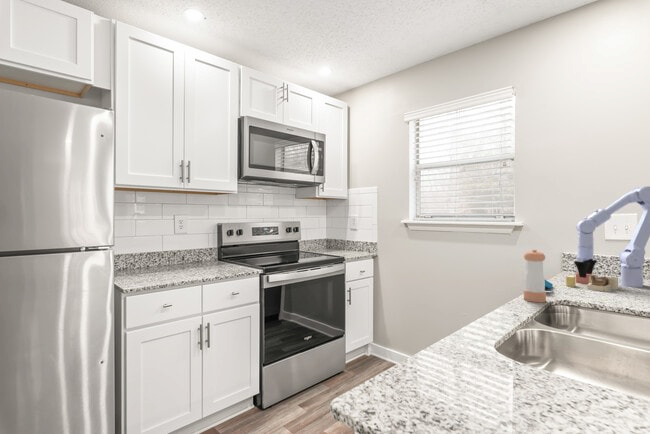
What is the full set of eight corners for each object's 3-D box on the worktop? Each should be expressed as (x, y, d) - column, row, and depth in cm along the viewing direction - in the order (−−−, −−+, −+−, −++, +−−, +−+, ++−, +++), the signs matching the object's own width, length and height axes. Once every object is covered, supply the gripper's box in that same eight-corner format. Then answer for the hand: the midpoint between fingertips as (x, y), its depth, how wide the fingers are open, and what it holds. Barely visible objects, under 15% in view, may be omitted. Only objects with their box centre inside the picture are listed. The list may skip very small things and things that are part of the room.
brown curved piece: (600, 285, 157) (600, 272, 157) (612, 287, 154) (612, 274, 154) (591, 289, 150) (591, 276, 150) (603, 290, 146) (603, 277, 146)
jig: (594, 286, 160) (594, 274, 159) (619, 289, 152) (619, 276, 152) (583, 290, 151) (583, 277, 151) (610, 294, 144) (609, 280, 144)
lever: (533, 297, 159) (521, 292, 147) (535, 282, 161) (523, 276, 148) (551, 300, 154) (540, 295, 142) (552, 284, 156) (541, 277, 143)
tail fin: (569, 287, 159) (569, 275, 159) (575, 287, 157) (575, 276, 157) (566, 288, 157) (566, 276, 157) (572, 288, 155) (572, 277, 155)
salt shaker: (540, 298, 139) (539, 248, 139) (550, 302, 131) (549, 250, 131) (520, 297, 139) (520, 248, 139) (529, 302, 132) (528, 250, 132)
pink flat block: (577, 283, 166) (577, 273, 166) (596, 285, 161) (595, 274, 161) (575, 284, 165) (575, 273, 165) (594, 286, 159) (594, 275, 159)
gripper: (580, 245, 170) (580, 273, 171) (569, 247, 162) (569, 276, 162) (598, 246, 165) (598, 275, 165) (588, 248, 156) (588, 279, 156)
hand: (585, 276), depth 163 cm, fingers open, 7 cm apart
